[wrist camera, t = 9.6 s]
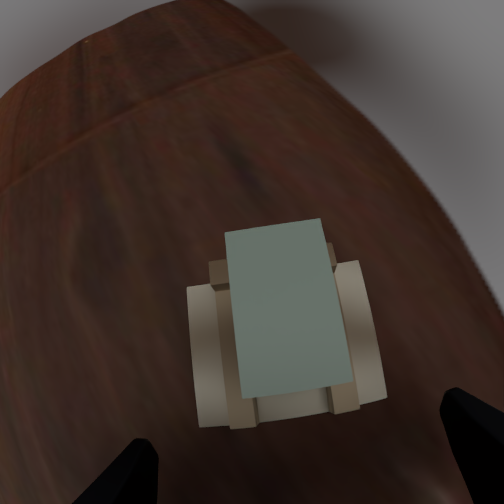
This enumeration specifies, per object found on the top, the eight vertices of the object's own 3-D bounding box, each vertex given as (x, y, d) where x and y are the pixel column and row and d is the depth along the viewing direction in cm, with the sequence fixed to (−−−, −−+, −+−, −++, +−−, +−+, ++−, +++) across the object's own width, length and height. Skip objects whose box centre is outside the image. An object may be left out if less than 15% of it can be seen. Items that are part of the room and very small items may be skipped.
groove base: (379, 397, 16) (406, 398, 12) (205, 424, 16) (181, 433, 12) (353, 269, 19) (369, 236, 15) (193, 294, 20) (169, 267, 16)
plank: (313, 385, 15) (353, 381, 6) (267, 392, 15) (242, 398, 6) (302, 312, 17) (319, 218, 8) (258, 319, 17) (224, 232, 8)
